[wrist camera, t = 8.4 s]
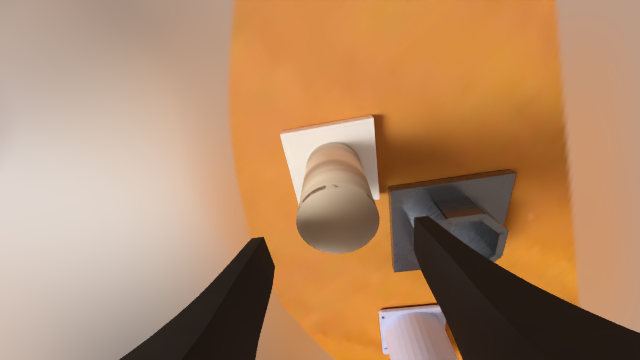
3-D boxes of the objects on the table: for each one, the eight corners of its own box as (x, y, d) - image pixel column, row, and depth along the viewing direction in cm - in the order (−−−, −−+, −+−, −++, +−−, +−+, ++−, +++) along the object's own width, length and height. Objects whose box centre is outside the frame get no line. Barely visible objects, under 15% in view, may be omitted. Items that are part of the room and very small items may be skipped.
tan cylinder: (363, 187, 19) (381, 248, 13) (312, 195, 20) (306, 257, 13) (357, 137, 17) (376, 180, 11) (300, 147, 18) (287, 194, 11)
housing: (490, 255, 24) (513, 283, 21) (392, 266, 25) (401, 293, 22) (509, 169, 19) (542, 188, 16) (388, 186, 20) (398, 207, 17)
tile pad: (377, 193, 20) (379, 199, 20) (301, 203, 21) (300, 210, 20) (371, 115, 17) (373, 117, 16) (282, 130, 18) (280, 134, 17)
